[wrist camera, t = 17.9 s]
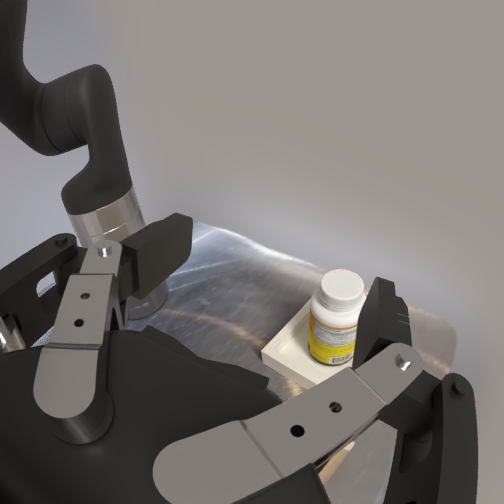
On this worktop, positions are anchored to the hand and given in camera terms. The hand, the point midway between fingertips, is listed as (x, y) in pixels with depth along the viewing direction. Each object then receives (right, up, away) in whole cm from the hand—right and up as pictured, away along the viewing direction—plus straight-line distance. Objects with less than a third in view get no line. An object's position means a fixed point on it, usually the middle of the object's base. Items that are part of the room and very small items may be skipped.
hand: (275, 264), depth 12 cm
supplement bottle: (+8, -11, +19) cm, 23 cm away
